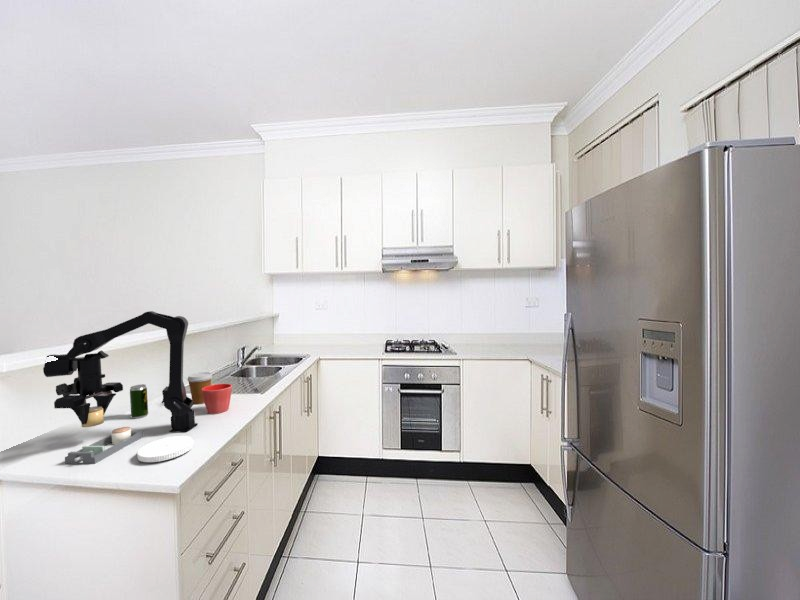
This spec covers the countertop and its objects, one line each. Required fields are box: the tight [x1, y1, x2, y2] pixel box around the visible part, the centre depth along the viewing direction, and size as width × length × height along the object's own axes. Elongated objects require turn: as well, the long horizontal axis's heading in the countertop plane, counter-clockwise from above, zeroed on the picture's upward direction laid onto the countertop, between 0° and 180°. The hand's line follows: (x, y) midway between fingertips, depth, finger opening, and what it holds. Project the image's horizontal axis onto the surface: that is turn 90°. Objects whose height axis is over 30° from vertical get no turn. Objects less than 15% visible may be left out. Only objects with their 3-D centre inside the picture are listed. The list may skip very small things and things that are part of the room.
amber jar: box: [80, 405, 105, 428], centre depth 115 cm, size 6×6×5 cm
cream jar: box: [110, 426, 132, 446], centre depth 115 cm, size 5×5×4 cm
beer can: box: [129, 383, 149, 420], centre depth 138 cm, size 5×5×12 cm
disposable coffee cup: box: [186, 371, 213, 405], centre depth 154 cm, size 10×10×12 cm
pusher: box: [74, 445, 106, 462], centre depth 103 cm, size 6×6×3 cm
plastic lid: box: [136, 435, 194, 463], centre depth 107 cm, size 14×14×2 cm
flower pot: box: [202, 383, 233, 415], centre depth 143 cm, size 11×11×10 cm
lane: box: [64, 430, 145, 465], centre depth 110 cm, size 9×18×3 cm, turn 177°
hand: (92, 420), depth 115 cm, fingers closed on amber jar, 5 cm apart
